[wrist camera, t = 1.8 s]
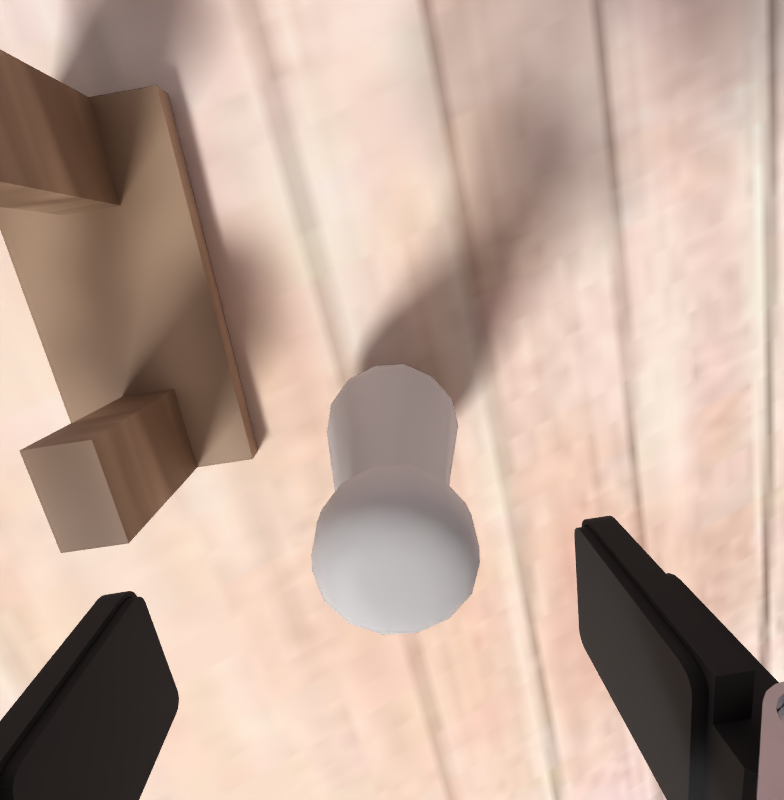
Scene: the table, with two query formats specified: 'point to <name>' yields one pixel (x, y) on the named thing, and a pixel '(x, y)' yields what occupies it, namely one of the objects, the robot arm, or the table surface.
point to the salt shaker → (394, 506)
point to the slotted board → (115, 303)
